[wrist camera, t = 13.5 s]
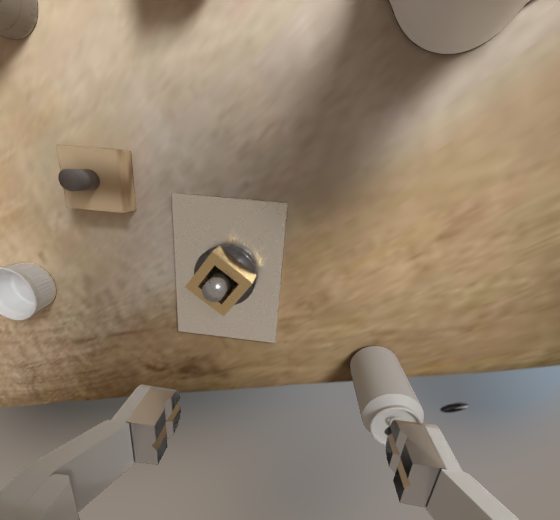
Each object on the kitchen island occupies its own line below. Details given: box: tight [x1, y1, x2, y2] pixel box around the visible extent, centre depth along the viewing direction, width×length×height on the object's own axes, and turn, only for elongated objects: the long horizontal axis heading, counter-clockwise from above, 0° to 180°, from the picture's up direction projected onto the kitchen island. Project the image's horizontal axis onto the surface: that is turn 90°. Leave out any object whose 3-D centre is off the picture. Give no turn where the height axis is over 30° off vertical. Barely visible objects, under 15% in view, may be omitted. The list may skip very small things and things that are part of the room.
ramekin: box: [0, 262, 56, 320], centre depth 42 cm, size 9×9×4 cm
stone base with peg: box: [172, 193, 288, 343], centre depth 37 cm, size 22×16×8 cm
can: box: [350, 346, 424, 445], centre depth 37 cm, size 8×8×12 cm
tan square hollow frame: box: [185, 246, 257, 316], centre depth 36 cm, size 7×7×3 cm
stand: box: [56, 145, 136, 213], centre depth 34 cm, size 8×8×6 cm
